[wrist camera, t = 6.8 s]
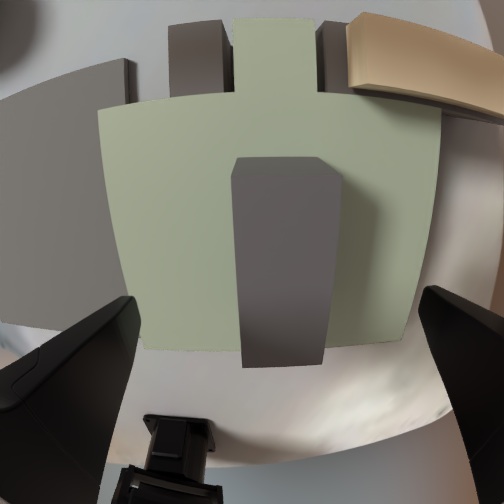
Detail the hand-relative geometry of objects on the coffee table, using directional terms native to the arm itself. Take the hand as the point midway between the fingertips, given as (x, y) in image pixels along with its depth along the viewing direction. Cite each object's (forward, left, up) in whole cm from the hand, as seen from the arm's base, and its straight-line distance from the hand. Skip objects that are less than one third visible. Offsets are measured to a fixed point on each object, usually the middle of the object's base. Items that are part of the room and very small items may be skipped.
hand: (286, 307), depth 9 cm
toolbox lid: (+2, 0, -5) cm, 5 cm away
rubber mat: (0, +16, -9) cm, 18 cm away
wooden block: (+8, -7, -4) cm, 11 cm away
